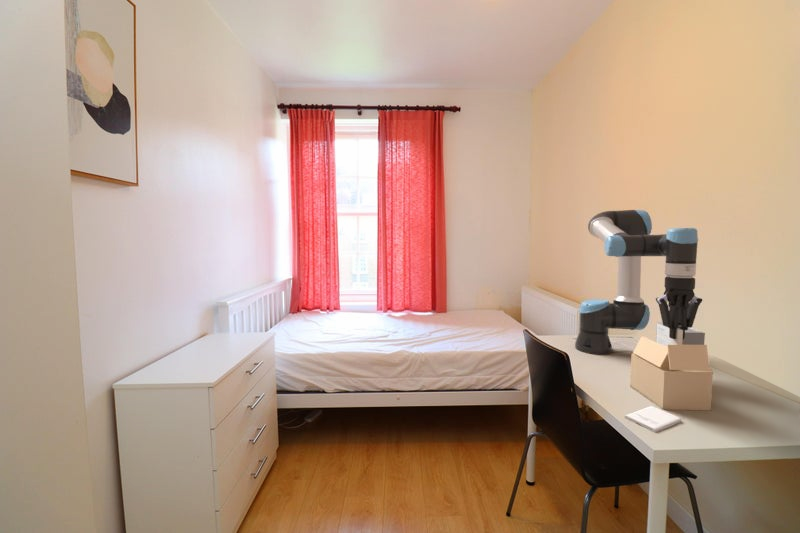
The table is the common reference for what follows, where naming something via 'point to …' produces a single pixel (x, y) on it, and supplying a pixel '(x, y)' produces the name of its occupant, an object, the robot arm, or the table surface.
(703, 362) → the flap
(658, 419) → the external hard drive
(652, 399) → the carton
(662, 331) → the hard drive box
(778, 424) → the table surface
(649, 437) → the table surface
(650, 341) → the flap
